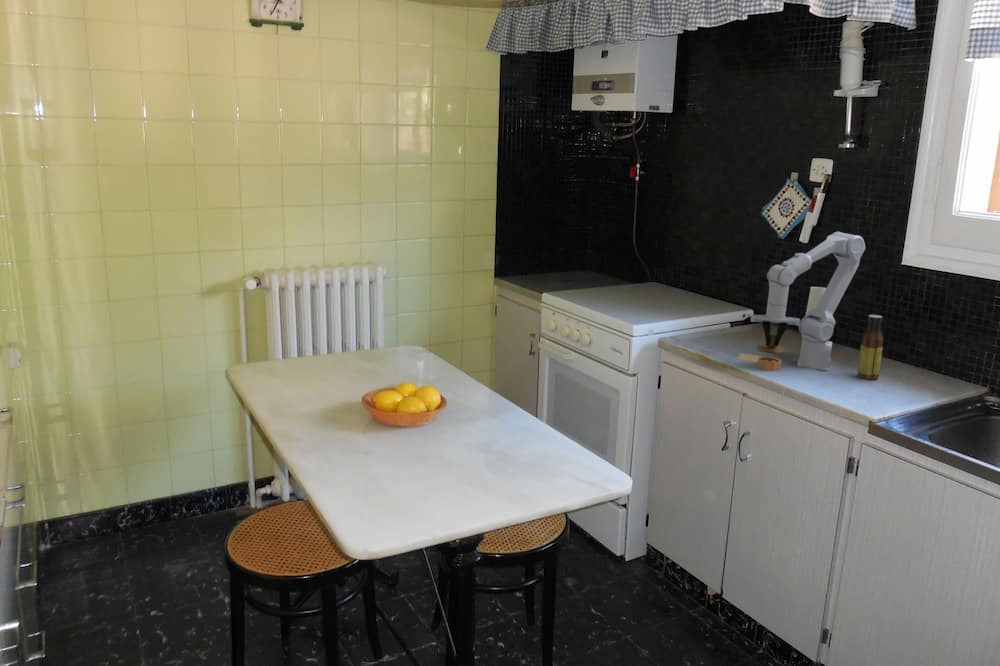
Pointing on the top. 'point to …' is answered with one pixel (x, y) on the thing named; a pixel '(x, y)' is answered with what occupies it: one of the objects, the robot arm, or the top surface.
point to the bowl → (769, 363)
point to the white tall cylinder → (815, 297)
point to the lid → (771, 346)
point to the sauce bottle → (871, 349)
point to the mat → (748, 357)
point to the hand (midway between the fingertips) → (771, 345)
